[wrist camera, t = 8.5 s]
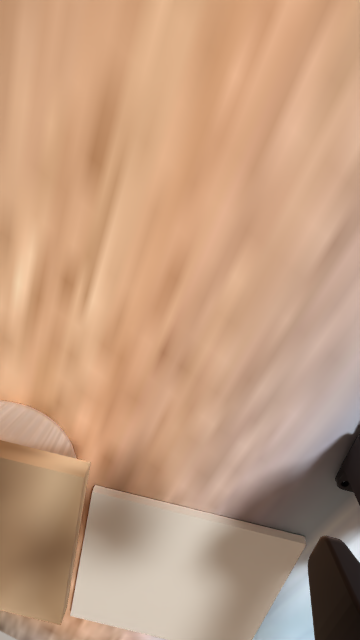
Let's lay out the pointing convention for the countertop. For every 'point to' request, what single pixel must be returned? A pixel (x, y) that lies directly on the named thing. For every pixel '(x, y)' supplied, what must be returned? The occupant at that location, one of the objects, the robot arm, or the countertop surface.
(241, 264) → the countertop surface
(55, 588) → the board
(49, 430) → the ramekin
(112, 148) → the countertop surface
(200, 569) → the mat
